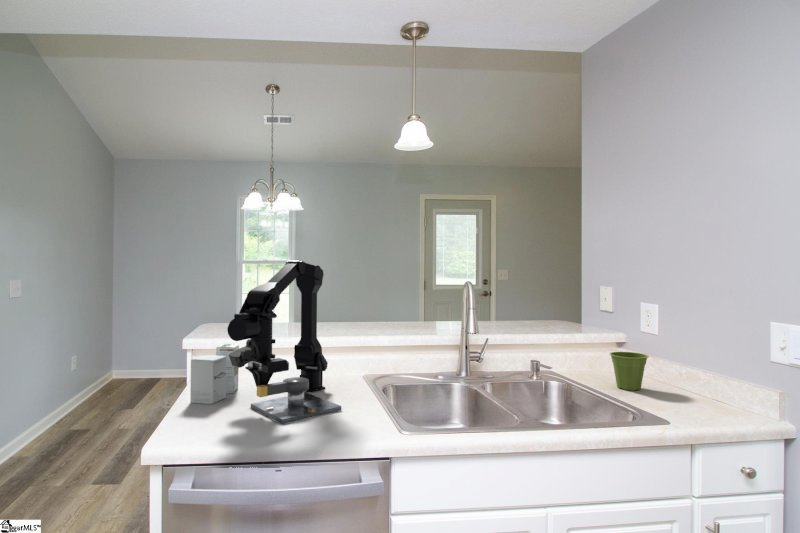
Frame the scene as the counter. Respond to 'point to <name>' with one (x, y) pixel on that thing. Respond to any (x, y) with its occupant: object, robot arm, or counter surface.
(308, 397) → the base
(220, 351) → the syrup box
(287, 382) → the handle
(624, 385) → the plant pot
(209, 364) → the supplement box
